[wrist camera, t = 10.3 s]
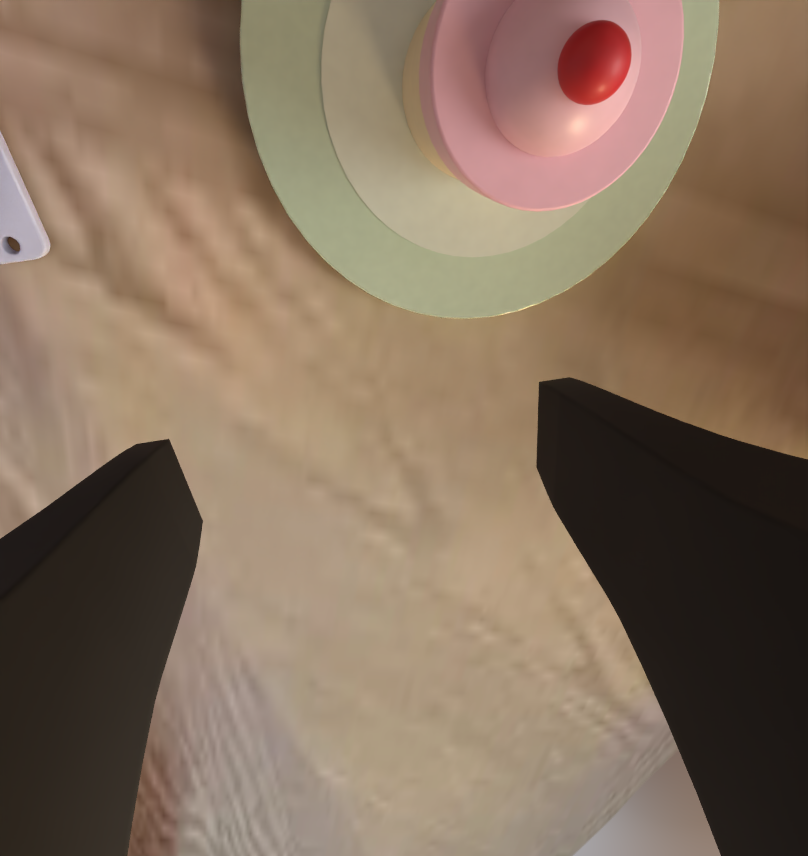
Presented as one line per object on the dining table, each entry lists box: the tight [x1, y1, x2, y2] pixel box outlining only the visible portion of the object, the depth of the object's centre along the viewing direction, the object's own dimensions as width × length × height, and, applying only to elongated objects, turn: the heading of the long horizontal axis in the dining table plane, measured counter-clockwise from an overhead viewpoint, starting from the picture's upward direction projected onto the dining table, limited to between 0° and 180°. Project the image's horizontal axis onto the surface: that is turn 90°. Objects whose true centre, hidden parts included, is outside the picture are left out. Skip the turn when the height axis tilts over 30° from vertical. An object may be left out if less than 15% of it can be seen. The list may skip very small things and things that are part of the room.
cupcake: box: [402, 0, 684, 212], centre depth 12 cm, size 5×5×8 cm
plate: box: [239, 0, 719, 319], centre depth 15 cm, size 14×14×1 cm
